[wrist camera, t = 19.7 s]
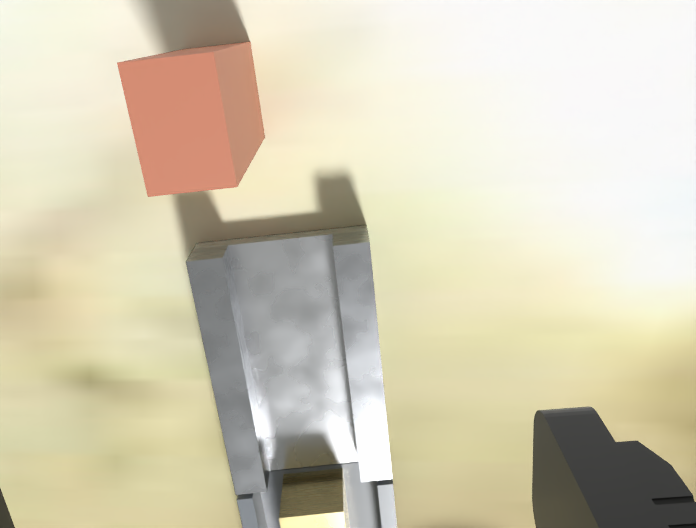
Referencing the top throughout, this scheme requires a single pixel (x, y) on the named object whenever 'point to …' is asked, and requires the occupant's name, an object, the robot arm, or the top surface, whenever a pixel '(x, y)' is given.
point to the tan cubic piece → (314, 500)
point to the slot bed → (293, 352)
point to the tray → (362, 498)
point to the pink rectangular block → (194, 117)
